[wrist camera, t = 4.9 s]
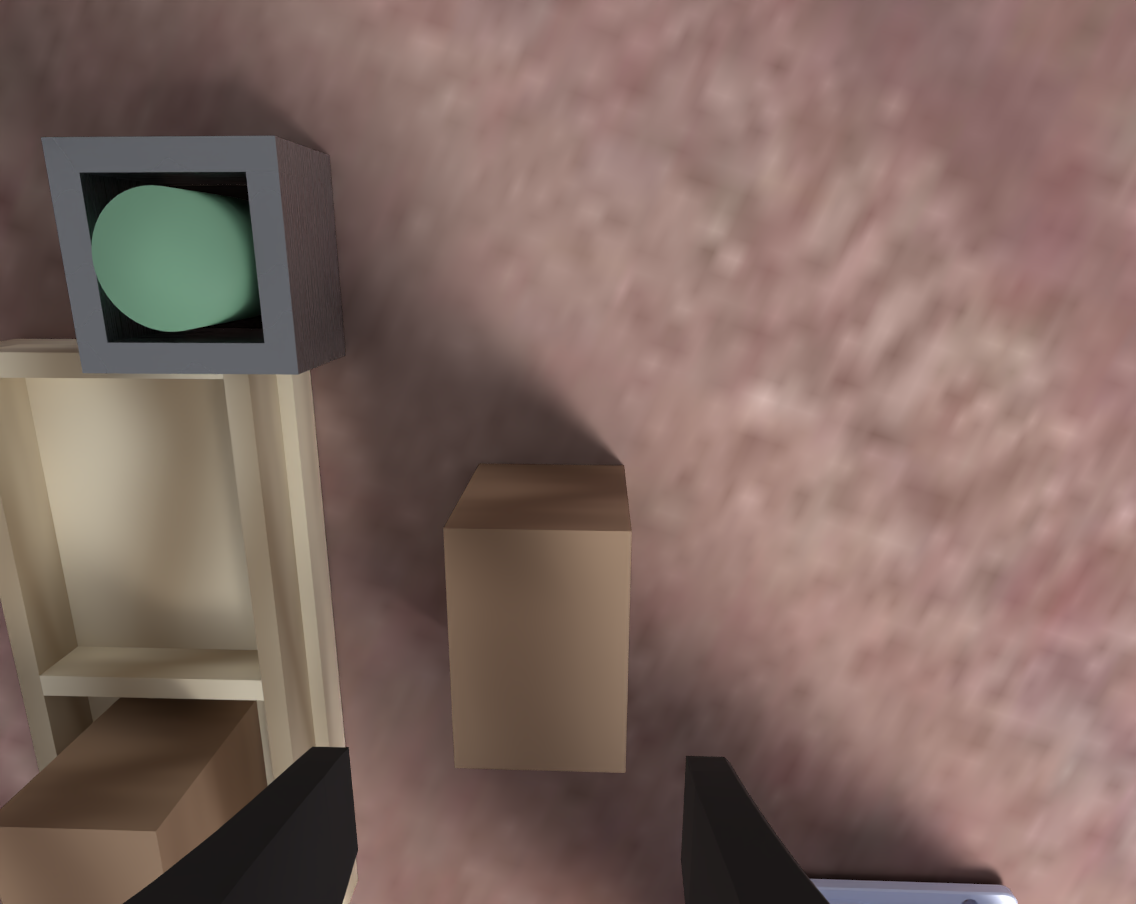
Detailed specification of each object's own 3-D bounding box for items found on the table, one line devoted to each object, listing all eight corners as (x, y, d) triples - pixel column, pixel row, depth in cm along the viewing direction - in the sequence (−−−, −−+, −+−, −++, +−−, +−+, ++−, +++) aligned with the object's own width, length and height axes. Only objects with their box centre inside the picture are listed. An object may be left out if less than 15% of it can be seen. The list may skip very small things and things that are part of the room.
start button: (286, 196, 18) (222, 184, 15) (297, 318, 19) (239, 332, 16) (167, 196, 18) (80, 185, 15) (183, 318, 19) (104, 331, 16)
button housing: (329, 155, 18) (274, 135, 15) (345, 354, 20) (298, 374, 17) (134, 156, 18) (40, 137, 15) (163, 354, 20) (82, 373, 17)
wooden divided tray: (307, 339, 20) (262, 353, 17) (357, 880, 24) (329, 955, 22) (16, 338, 20) (-72, 352, 17) (121, 872, 25) (65, 946, 22)
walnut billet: (623, 464, 20) (632, 531, 15) (619, 657, 22) (625, 772, 17) (480, 462, 20) (443, 528, 16) (486, 654, 22) (454, 768, 17)
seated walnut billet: (256, 699, 21) (155, 831, 16) (278, 868, 23) (192, 1034, 18) (121, 696, 21) (-19, 826, 16) (152, 864, 23) (33, 1027, 18)
